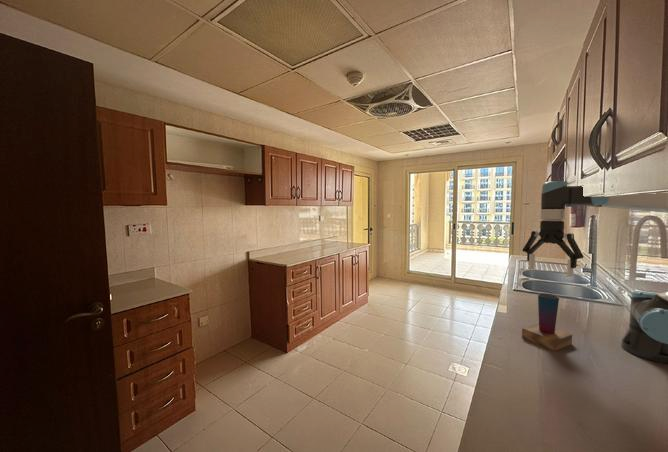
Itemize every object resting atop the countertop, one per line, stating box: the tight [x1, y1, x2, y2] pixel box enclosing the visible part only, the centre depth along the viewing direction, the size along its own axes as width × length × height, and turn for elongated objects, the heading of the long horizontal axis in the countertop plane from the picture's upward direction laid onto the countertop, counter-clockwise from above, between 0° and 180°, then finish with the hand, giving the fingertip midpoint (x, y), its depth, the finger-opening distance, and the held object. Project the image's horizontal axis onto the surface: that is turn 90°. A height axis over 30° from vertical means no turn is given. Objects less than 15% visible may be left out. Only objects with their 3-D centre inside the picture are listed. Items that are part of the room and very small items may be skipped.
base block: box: [521, 322, 573, 352], centre depth 111 cm, size 12×12×4 cm
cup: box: [537, 292, 560, 334], centre depth 110 cm, size 7×7×15 cm
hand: (549, 272), depth 109 cm, fingers open, 13 cm apart
